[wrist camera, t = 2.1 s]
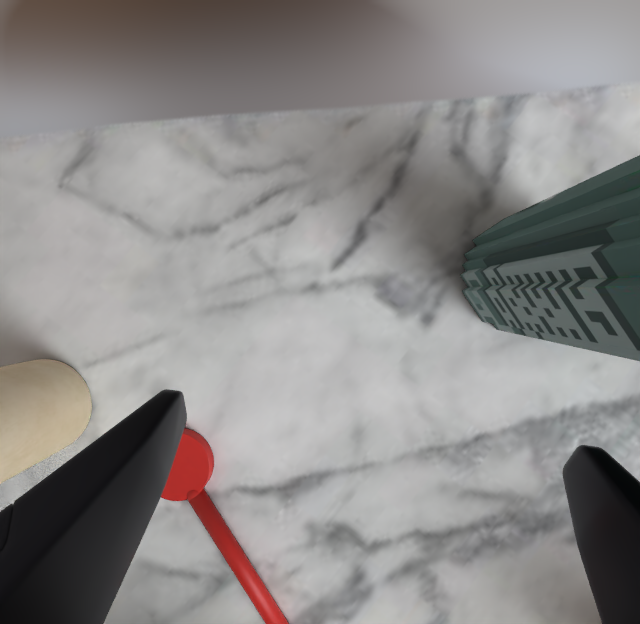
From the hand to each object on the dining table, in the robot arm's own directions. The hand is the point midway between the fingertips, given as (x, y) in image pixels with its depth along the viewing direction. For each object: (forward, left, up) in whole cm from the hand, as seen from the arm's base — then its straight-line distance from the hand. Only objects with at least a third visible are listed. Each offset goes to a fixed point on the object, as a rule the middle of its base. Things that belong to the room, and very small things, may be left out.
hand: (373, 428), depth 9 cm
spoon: (-5, +12, -14) cm, 19 cm away
